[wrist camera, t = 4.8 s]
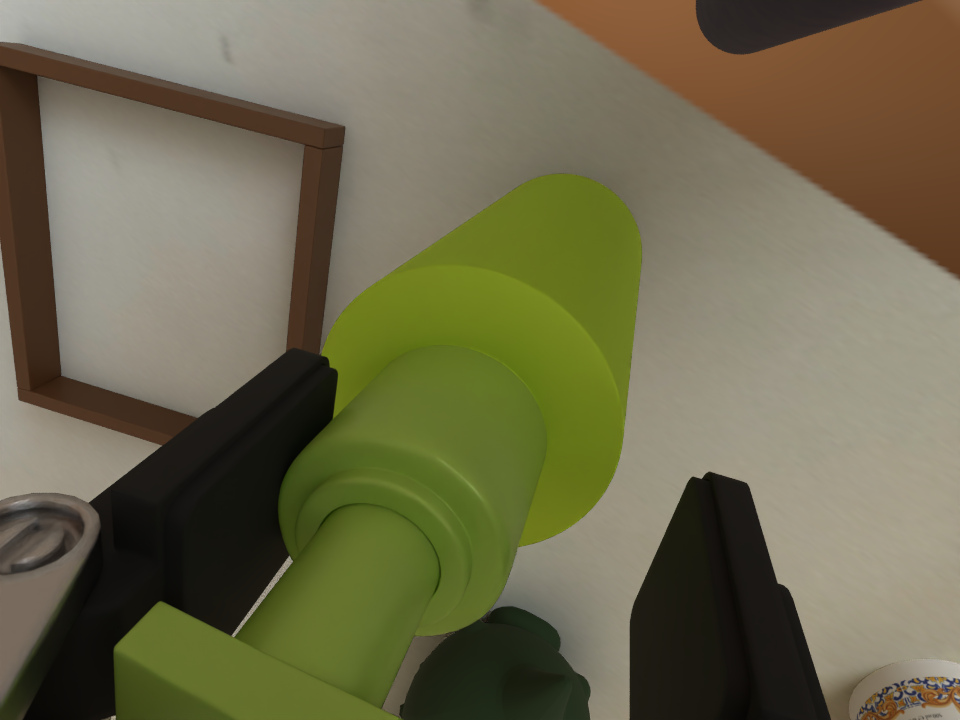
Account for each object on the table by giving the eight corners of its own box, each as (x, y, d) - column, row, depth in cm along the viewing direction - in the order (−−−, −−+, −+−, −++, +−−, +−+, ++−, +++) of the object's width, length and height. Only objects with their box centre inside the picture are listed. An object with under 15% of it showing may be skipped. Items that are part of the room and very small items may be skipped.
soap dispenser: (637, 358, 24) (574, 1130, 6) (468, 303, 25) (-11, 835, 7) (696, 209, 21) (879, 794, 4) (505, 153, 22) (-105, 398, 4)
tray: (47, 45, 29) (-24, 39, 26) (359, 124, 28) (324, 128, 25) (71, 373, 37) (18, 400, 33) (318, 449, 35) (288, 485, 32)
